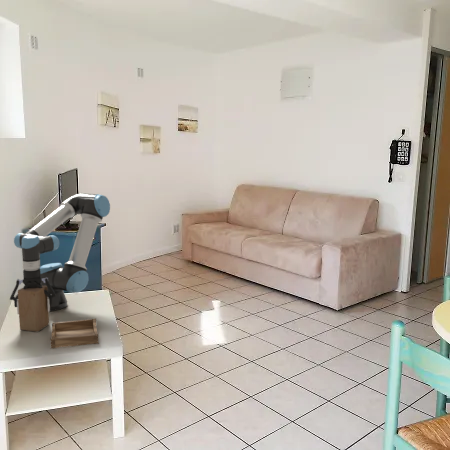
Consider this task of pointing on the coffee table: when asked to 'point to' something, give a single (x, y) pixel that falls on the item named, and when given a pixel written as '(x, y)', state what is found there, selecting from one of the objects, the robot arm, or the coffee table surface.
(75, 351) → the coffee table surface
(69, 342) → the crate
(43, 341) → the coffee table surface
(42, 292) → the wooden block
